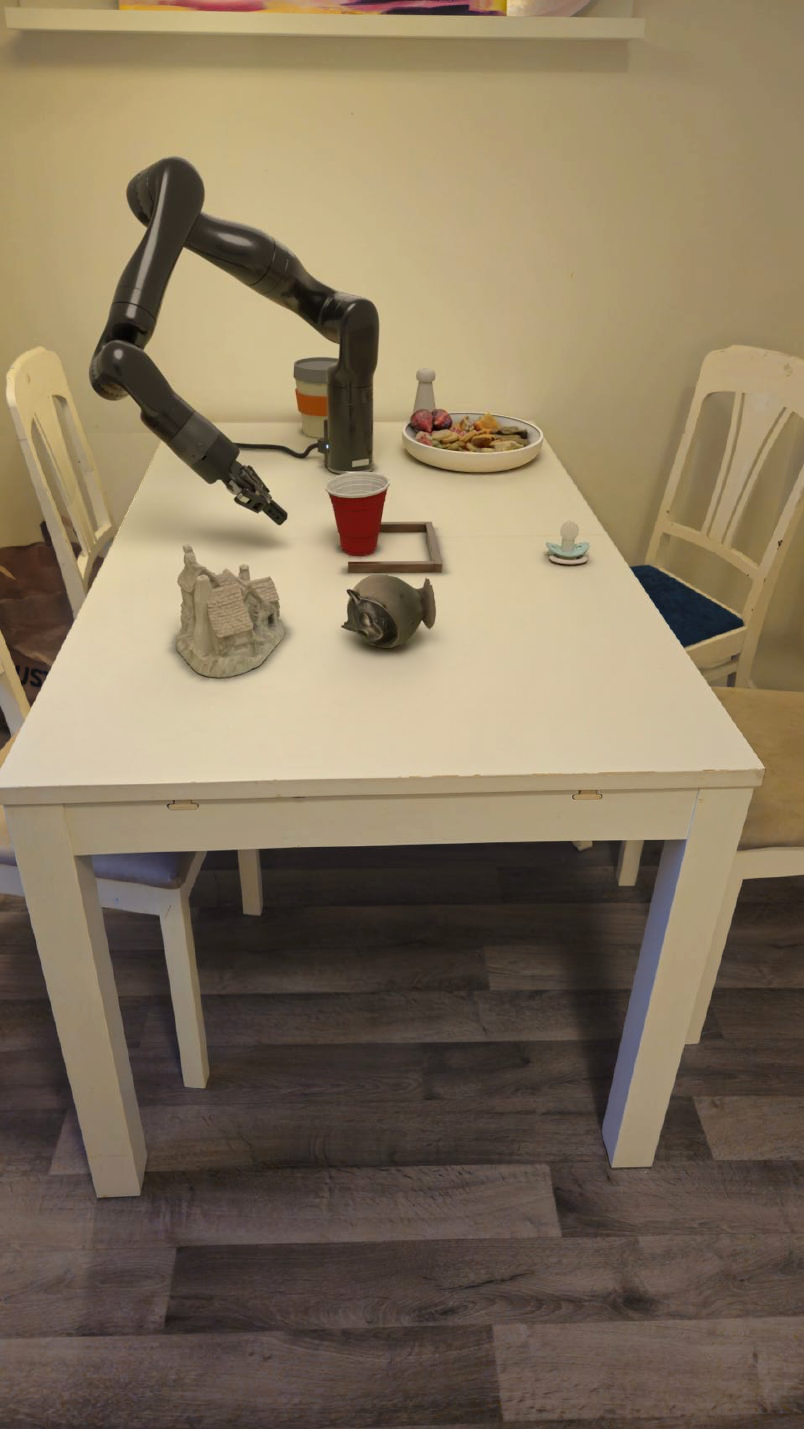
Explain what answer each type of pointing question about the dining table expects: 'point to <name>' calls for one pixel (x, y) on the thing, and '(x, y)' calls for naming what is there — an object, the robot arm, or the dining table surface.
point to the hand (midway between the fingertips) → (284, 520)
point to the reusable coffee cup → (312, 393)
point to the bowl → (471, 440)
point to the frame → (403, 565)
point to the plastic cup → (358, 509)
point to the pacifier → (568, 546)
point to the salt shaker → (425, 390)
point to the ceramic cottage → (226, 619)
